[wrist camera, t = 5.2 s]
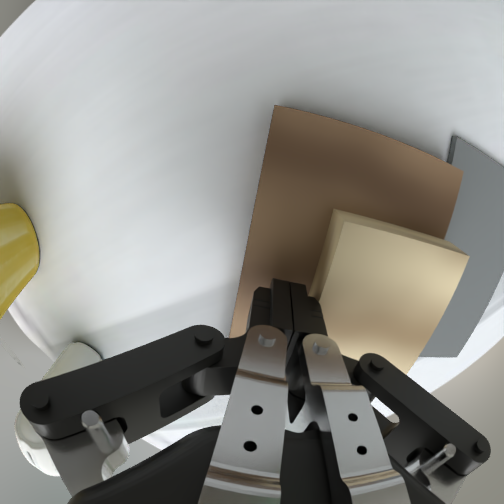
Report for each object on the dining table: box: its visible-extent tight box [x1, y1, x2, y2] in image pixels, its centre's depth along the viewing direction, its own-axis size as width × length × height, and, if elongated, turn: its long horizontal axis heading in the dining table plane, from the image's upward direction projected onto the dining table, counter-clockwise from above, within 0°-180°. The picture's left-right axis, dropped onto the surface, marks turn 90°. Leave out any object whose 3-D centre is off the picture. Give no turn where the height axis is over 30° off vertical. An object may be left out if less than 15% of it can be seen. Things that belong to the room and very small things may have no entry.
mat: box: [418, 136, 504, 357], centre depth 14 cm, size 15×9×1 cm, turn 169°
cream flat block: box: [308, 209, 470, 374], centre depth 12 cm, size 8×7×2 cm
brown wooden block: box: [229, 105, 464, 381], centre depth 14 cm, size 16×10×2 cm, turn 169°
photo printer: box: [15, 342, 102, 476], centre depth 15 cm, size 10×4×12 cm, turn 156°
